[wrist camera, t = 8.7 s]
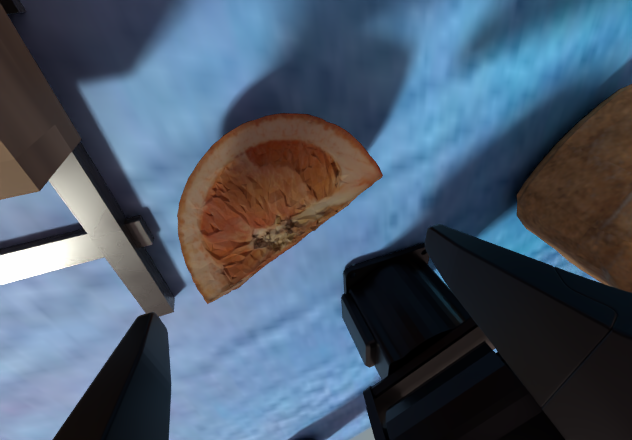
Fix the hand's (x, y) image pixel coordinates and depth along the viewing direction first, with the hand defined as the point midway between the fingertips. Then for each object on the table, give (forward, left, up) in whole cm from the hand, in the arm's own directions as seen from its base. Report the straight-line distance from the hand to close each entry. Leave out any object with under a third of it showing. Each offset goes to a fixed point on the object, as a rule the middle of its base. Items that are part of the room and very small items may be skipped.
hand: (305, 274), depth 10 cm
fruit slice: (0, 0, -7) cm, 7 cm away
